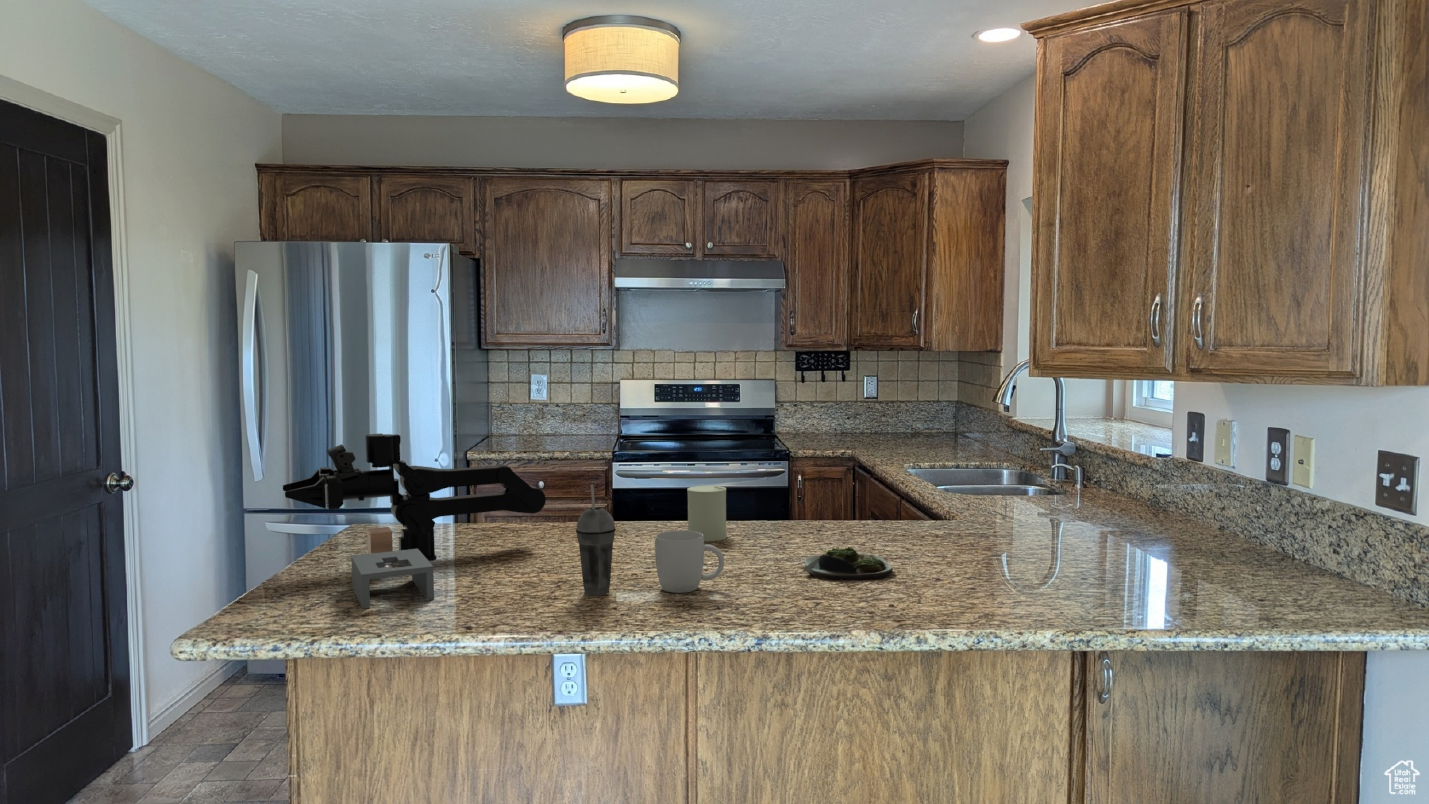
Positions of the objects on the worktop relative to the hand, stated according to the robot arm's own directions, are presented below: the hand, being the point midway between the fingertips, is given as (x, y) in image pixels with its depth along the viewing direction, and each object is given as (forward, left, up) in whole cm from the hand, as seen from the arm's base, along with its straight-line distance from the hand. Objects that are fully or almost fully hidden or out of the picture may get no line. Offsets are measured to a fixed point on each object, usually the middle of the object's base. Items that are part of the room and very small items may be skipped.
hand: (283, 491), depth 180 cm
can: (-88, +12, -17) cm, 91 cm away
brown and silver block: (-16, +11, -17) cm, 26 cm away
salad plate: (-98, +53, -17) cm, 113 cm away
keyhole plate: (-16, +26, -17) cm, 35 cm away
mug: (-65, +50, -17) cm, 84 cm away
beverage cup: (-49, +44, -17) cm, 68 cm away
